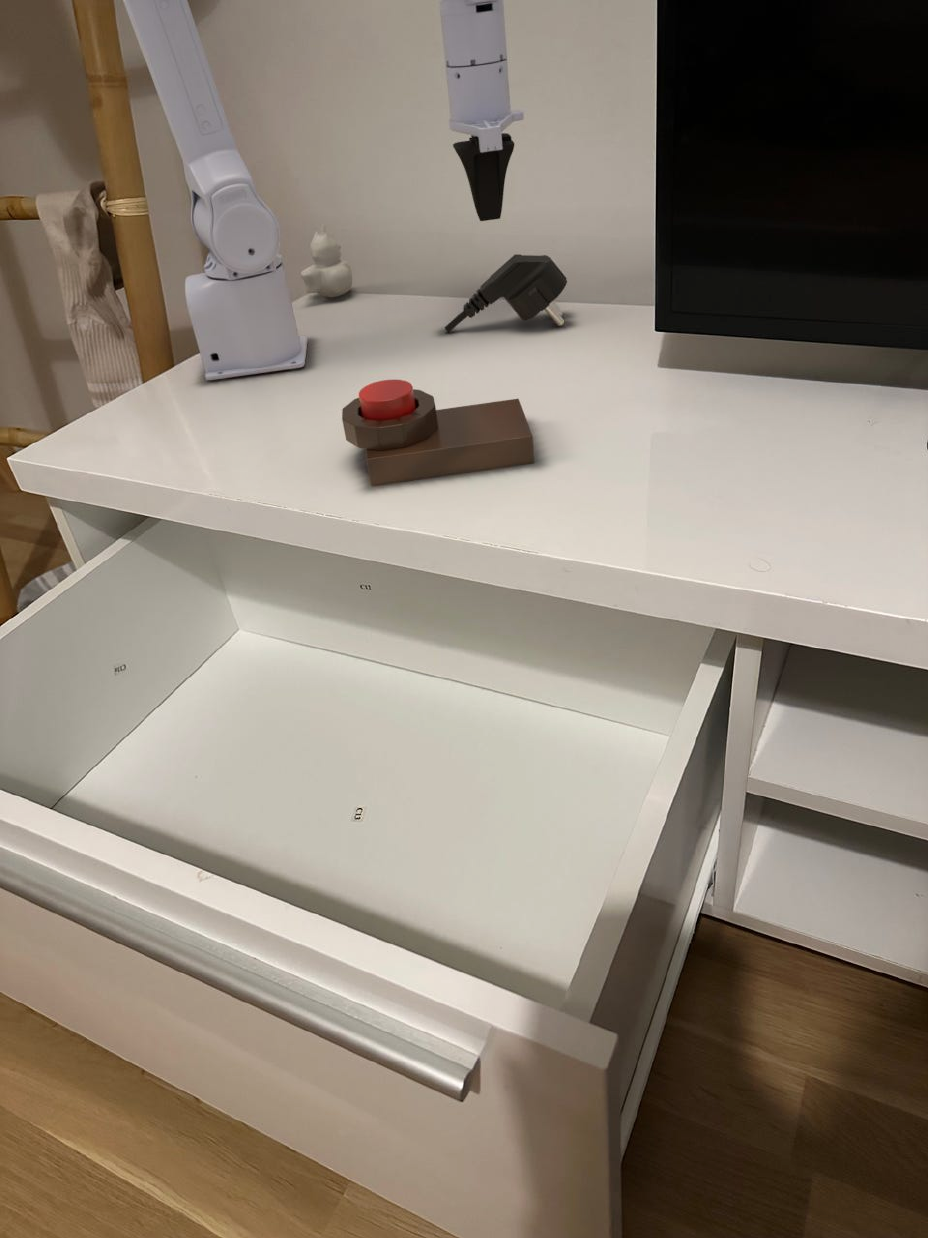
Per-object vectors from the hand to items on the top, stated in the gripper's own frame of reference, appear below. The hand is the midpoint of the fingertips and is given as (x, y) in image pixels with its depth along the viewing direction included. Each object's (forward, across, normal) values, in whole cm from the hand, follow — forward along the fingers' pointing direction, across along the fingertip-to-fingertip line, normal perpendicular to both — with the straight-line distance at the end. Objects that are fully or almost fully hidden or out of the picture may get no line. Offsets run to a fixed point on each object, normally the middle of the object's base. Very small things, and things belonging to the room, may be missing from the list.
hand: (489, 218), depth 93 cm
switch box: (+8, -34, +8) cm, 36 cm away
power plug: (+9, -8, 0) cm, 12 cm away
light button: (+5, -34, +12) cm, 36 cm away
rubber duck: (+9, +10, +18) cm, 22 cm away
